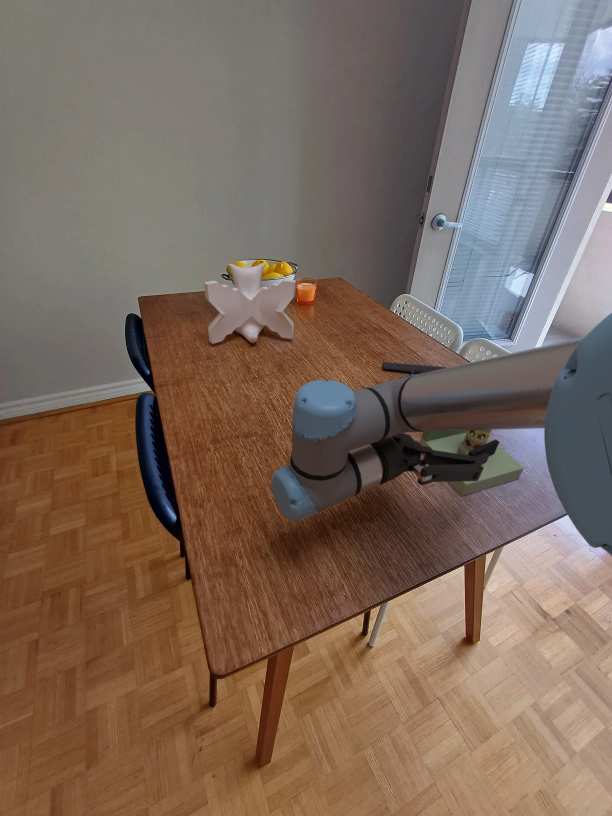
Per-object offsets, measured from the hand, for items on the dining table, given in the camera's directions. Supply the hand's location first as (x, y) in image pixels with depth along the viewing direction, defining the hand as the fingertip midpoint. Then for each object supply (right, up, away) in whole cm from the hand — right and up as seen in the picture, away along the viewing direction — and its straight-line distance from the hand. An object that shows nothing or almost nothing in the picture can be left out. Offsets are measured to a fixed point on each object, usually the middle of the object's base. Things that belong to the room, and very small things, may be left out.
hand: (463, 423), depth 70 cm
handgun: (+2, +10, +37) cm, 38 cm away
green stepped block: (+5, -8, +10) cm, 14 cm away
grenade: (+5, -6, +9) cm, 12 cm away
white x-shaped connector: (-46, +26, +54) cm, 75 cm away
